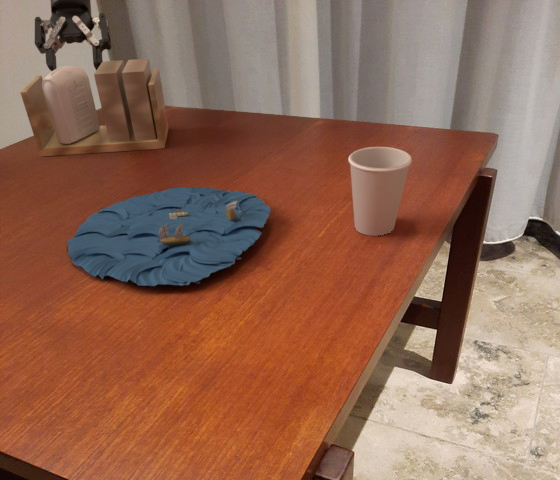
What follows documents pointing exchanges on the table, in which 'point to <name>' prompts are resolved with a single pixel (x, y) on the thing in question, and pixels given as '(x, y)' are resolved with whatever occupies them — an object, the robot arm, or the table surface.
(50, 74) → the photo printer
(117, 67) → the rack
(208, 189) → the decorative plate
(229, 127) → the table surface
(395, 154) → the dixie cup
